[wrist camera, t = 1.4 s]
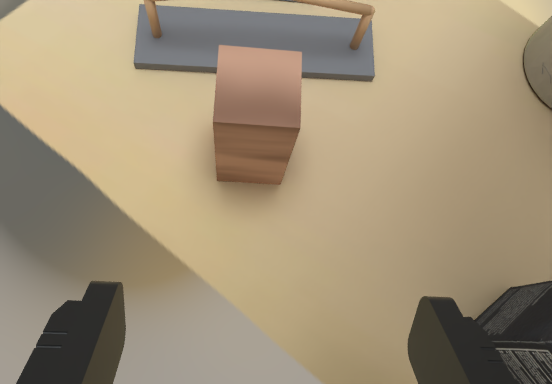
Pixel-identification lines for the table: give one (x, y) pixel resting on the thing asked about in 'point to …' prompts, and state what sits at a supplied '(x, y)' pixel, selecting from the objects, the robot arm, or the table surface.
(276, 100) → the block
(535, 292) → the small box
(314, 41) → the board with wooden handle
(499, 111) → the table surface
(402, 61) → the table surface
